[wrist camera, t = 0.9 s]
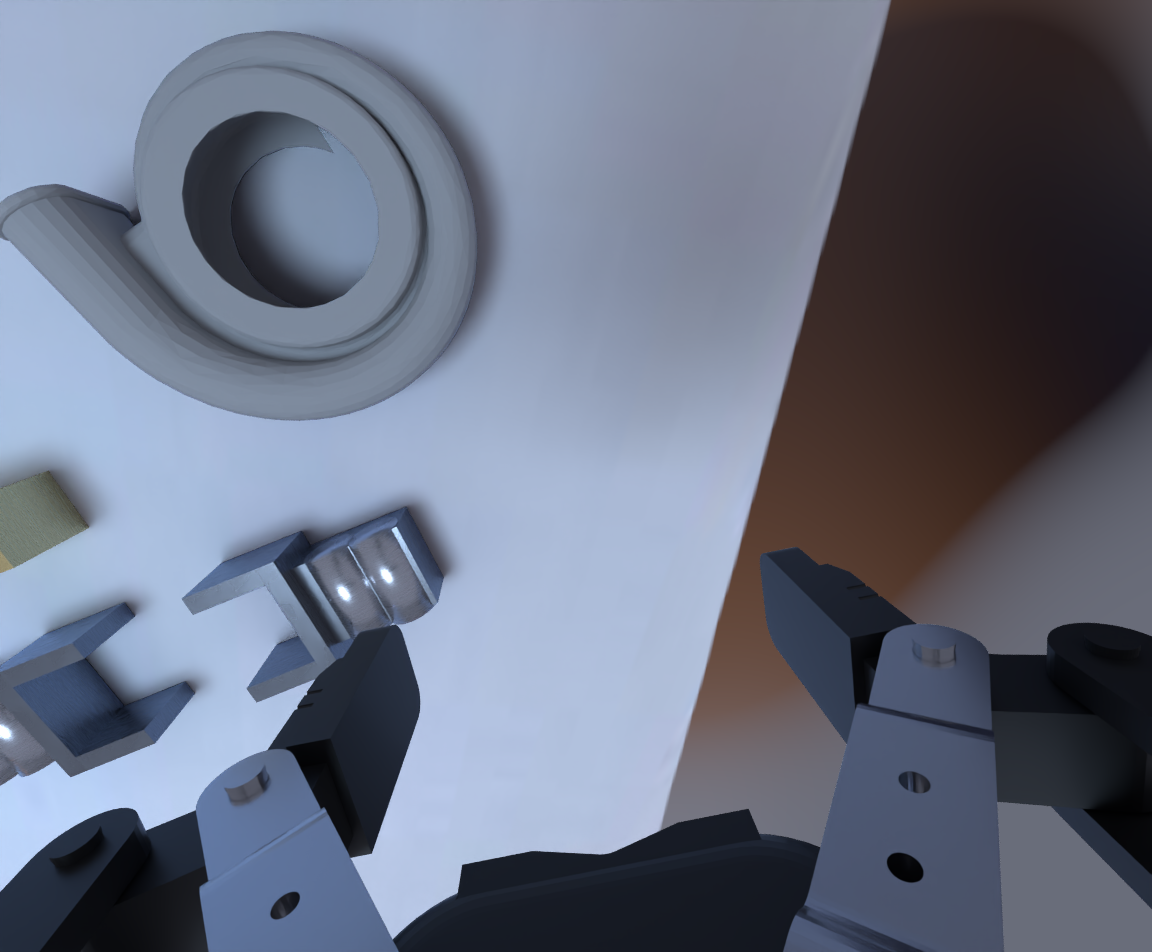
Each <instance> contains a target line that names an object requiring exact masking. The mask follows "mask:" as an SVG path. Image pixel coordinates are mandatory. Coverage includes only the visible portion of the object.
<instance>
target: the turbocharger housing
mask: <svg viewBox="0 0 1152 952" xmlns="http://www.w3.org/2000/svg"><path fill="white" fill-rule="evenodd" d="M316 125H317V126H319V127H320V128H322V129H324V130H326V131H327V132H329V133H331V134H332V135H333V136H334V137H335V138H336V139H337V140H338V141H339V142H340V143H341V144H342V145H343V146H344V147H345V148H346V149H347V150H348V151H350V152H351V153H352V154H353V156H354V157H355V159H356V160H357V162H358V163H359V165H360V167H361V168H362V170H363V171H364V173H365V175H366V176H367V178H368V180H369V181H370V184H371V188H372V191H373V194H374V198H375V201H376V204H377V208H378V236H379V239H378V243H377V246H376V250H375V253H374V257H373V260H372V262H371V264H370V266H369V267H368V269H367V271H366V273H365V275H364V277H363V278H362V279H361V280H359V281H358V282H357V283H356V284H355V285H354V286H353V287H352V288H351V289H350V290H349V291H348V292H347V293H346V294H345V295H343V296H341V297H339V298H337V299H335V300H333V301H331V302H328V303H326V304H323V305H320V306H315V307H308V308H301V307H298V306H294V305H291V304H288V303H286V302H285V301H283V300H281V299H280V298H278V297H277V296H275V295H273V294H272V293H270V292H269V291H267V290H266V289H265V288H264V287H263V286H262V285H261V284H260V283H259V282H258V281H257V280H256V279H255V278H254V277H253V276H252V275H251V273H250V272H249V270H248V269H247V267H246V266H245V264H244V263H243V261H242V260H241V258H240V255H239V252H238V250H237V247H236V244H235V241H234V238H233V235H232V225H231V205H232V201H233V197H234V193H235V190H236V188H237V186H238V184H239V182H240V180H241V178H242V177H243V175H244V173H245V172H246V171H247V170H248V169H250V168H251V167H252V166H253V165H254V164H255V163H256V162H257V161H258V160H259V159H260V158H261V157H263V156H266V155H268V154H271V153H273V152H276V151H278V150H281V149H283V148H290V147H313V148H318V149H322V150H326V151H329V152H332V153H333V151H332V149H331V148H330V146H329V145H328V143H327V141H326V140H325V138H324V137H323V135H322V133H321V132H320V130H319V129H318V127H317V126H316ZM133 171H134V185H135V194H136V199H137V204H138V209H139V212H140V216H141V222H139V223H138V224H136V225H135V226H134V225H133V224H132V223H131V222H130V214H129V211H128V210H127V209H126V208H124V207H123V206H122V205H120V204H117V203H114V202H111V201H108V200H106V199H103V198H100V197H97V196H94V195H91V194H88V193H85V192H82V191H80V190H77V189H74V188H71V187H68V186H65V185H59V184H51V185H40V186H34V187H30V188H27V189H25V190H22V191H20V192H17V193H15V194H13V195H11V196H8V197H7V198H5V199H4V200H3V201H2V202H1V203H0V238H2V239H4V240H8V241H10V242H11V243H12V244H13V245H14V246H15V247H16V248H17V249H18V250H19V251H20V252H21V253H22V254H23V255H24V256H25V258H26V259H27V260H28V261H29V262H30V263H31V264H32V265H33V266H34V267H35V268H36V269H37V270H38V271H39V272H40V273H41V274H42V275H43V276H44V277H45V278H46V279H47V280H48V281H49V282H50V283H51V284H52V285H53V286H54V287H55V289H56V290H57V291H58V292H59V293H60V294H61V295H62V296H63V297H64V298H65V299H66V300H67V301H68V302H69V303H70V304H71V305H72V306H73V307H74V308H75V309H76V310H77V311H78V312H79V313H80V314H81V315H82V316H83V317H84V318H85V319H86V321H87V322H88V323H89V324H90V325H91V326H92V327H93V328H94V329H95V330H96V331H97V332H98V333H99V334H100V335H101V336H102V337H103V338H104V339H105V340H106V341H107V342H108V343H109V344H110V345H111V346H112V347H113V348H115V349H116V350H117V351H118V352H119V353H120V354H122V355H123V356H124V357H125V358H127V359H128V360H129V361H131V362H132V363H133V364H134V365H136V366H137V367H138V368H140V369H141V370H142V371H144V372H145V373H147V374H149V375H150V376H152V377H153V378H155V379H156V380H158V381H160V382H162V383H163V384H165V385H167V386H169V387H171V388H173V389H175V390H177V391H178V392H180V393H182V394H184V395H186V396H189V397H191V398H194V399H196V400H199V401H201V402H203V403H206V404H208V405H211V406H213V407H217V408H220V409H224V410H227V411H231V412H234V413H238V414H243V415H247V416H253V417H259V418H265V419H275V420H298V421H300V420H317V419H324V418H332V417H337V416H341V415H346V414H350V413H353V412H356V411H359V410H363V409H365V408H368V407H370V406H373V405H375V404H378V403H380V402H382V401H384V400H386V399H388V398H390V397H391V396H393V395H395V394H396V393H398V392H400V391H401V390H403V389H404V388H406V387H407V386H408V385H410V384H411V383H412V382H414V381H415V380H416V379H417V378H418V377H420V376H421V375H422V374H423V373H424V372H425V371H426V370H427V369H428V368H429V367H430V366H432V365H433V363H434V362H435V361H436V360H437V359H438V358H439V357H440V355H441V354H442V353H443V352H444V350H445V349H446V348H447V346H448V345H449V344H450V342H451V340H452V339H453V337H454V336H455V334H456V332H457V330H458V328H459V327H460V325H461V323H462V321H463V318H464V316H465V313H466V311H467V308H468V305H469V302H470V299H471V295H472V291H473V286H474V281H475V273H476V263H477V230H476V223H475V216H474V209H473V202H472V198H471V195H470V192H469V189H468V185H467V182H466V179H465V175H464V173H463V170H462V168H461V166H460V163H459V161H458V158H457V156H456V154H455V153H454V151H453V149H452V147H451V145H450V143H449V141H448V139H447V138H446V136H445V135H444V133H443V131H442V130H441V128H440V127H439V125H438V124H437V123H436V121H435V120H434V118H433V117H432V116H431V114H430V113H429V112H428V111H427V109H426V108H425V107H424V106H423V105H422V104H421V103H420V101H419V100H418V99H417V98H416V97H415V96H414V95H413V94H412V93H411V92H410V91H409V90H408V89H407V88H406V87H405V86H404V85H403V84H401V83H400V82H399V81H398V80H396V79H395V78H394V77H393V76H392V75H390V74H389V73H388V72H386V71H385V70H384V69H382V68H381V67H379V66H378V65H376V64H375V63H373V62H372V61H370V60H369V59H367V58H365V57H363V56H361V55H360V54H358V53H356V52H354V51H352V50H350V49H348V48H346V47H343V46H341V45H339V44H337V43H334V42H331V41H328V40H324V39H321V38H318V37H315V36H310V35H305V34H300V33H294V32H282V31H266V32H255V33H245V34H239V35H235V36H231V37H227V38H224V39H221V40H219V41H217V42H214V43H212V44H210V45H207V46H205V47H203V48H202V49H200V50H198V51H196V52H194V53H193V54H191V55H190V56H189V57H188V58H186V59H185V60H184V61H183V62H182V63H180V64H179V65H178V66H177V67H176V68H174V69H173V70H172V71H171V72H170V73H169V74H168V75H167V76H166V77H165V79H164V80H163V81H162V83H161V84H160V86H159V87H158V89H157V90H156V92H155V93H154V95H153V96H152V97H151V99H150V100H149V102H148V105H147V107H146V109H145V111H144V114H143V117H142V120H141V124H140V128H139V131H138V135H137V138H136V142H135V154H134V167H133Z"/></svg>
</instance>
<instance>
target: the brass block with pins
mask: <svg viewBox="0 0 1152 952" xmlns="http://www.w3.org/2000/svg"><path fill="white" fill-rule="evenodd" d="M88 528H89V527H88V525H87V524H86V523H85V521H84V520H83V519H82V517H81V516H80V514H79V513H78V512H77V510H76V509H75V507H74V506H73V505H72V503H71V502H70V501H69V499H68V498H67V496H66V495H65V494H64V492H63V491H62V489H61V488H60V487H59V485H58V484H57V482H56V481H55V480H54V478H53V477H52V476H51V474H50V473H49V471H46V472H44V473H41V474H38V475H35V476H33V477H30V478H27V479H24V480H22V481H19V482H16V483H13V484H11V485H8V486H5V487H2V488H0V573H2V572H4V571H7V570H10V569H12V568H15V567H16V566H18V565H20V564H22V563H24V562H26V561H28V560H30V559H31V558H33V557H35V556H37V555H39V554H41V553H43V552H45V551H46V550H48V549H50V548H52V547H54V546H56V545H58V544H60V543H61V542H63V541H65V540H67V539H69V538H71V537H73V536H74V535H76V534H78V533H80V532H82V531H84V530H86V529H88Z"/></svg>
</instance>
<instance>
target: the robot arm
mask: <svg viewBox="0 0 1152 952" xmlns="http://www.w3.org/2000/svg"><path fill="white" fill-rule="evenodd" d="M760 569H761V578H762V587H763V596H764V605H765V613H766V621H767V626H768V629H769V633H770V636H771V638H772V641H773V643H774V645H775V646H776V648H777V650H778V651H779V652H780V654H781V655H782V656H783V658H784V659H785V660H786V662H787V663H788V664H789V666H790V667H791V669H792V670H793V671H794V673H795V674H796V675H797V677H798V678H799V680H800V681H801V682H802V684H803V685H804V686H805V688H806V689H807V690H808V692H809V693H810V695H811V696H812V697H813V699H814V700H815V701H816V703H817V704H818V705H819V707H820V708H821V710H822V711H823V712H824V714H825V715H826V716H827V718H828V719H829V720H830V722H831V723H832V724H833V726H834V727H835V729H836V730H837V731H838V733H839V734H840V735H841V737H842V738H843V740H844V741H845V742H846V744H847V745H846V749H845V753H844V757H843V761H842V765H841V769H840V772H839V776H838V780H837V785H836V788H835V792H834V796H833V800H832V804H831V808H830V811H829V815H828V820H827V823H826V827H825V831H824V835H823V839H822V843H821V847H818V846H815V845H812V844H810V843H807V842H803V841H800V840H796V839H792V838H789V837H783V836H776V835H770V834H759V832H758V830H757V828H756V825H755V823H754V821H753V819H752V816H751V814H750V811H749V809H745V810H740V811H735V812H730V813H725V814H720V815H714V816H709V817H704V818H699V819H694V820H689V821H684V822H679V823H676V824H674V825H672V826H670V827H667V828H665V829H663V830H661V831H659V832H657V833H654V834H652V835H650V836H648V837H646V838H643V839H641V840H639V841H637V842H635V843H633V844H630V845H628V846H626V847H624V848H622V849H619V850H617V851H615V852H612V853H609V854H601V855H599V854H579V853H560V852H541V851H531V852H525V853H520V854H515V855H510V856H505V857H500V858H495V859H490V860H485V861H480V862H474V863H469V864H464V865H462V870H461V876H460V883H459V889H458V893H457V894H455V895H453V896H451V897H449V898H447V899H445V900H443V901H442V902H440V903H438V904H437V905H435V906H433V907H432V908H430V909H429V910H427V911H426V912H425V913H423V914H422V915H420V916H419V917H418V918H416V919H415V920H414V921H413V922H411V923H410V924H409V925H408V926H407V927H406V928H404V929H403V930H402V931H401V932H400V933H399V934H398V935H397V936H396V937H395V938H394V939H393V940H392V938H391V936H390V934H389V932H388V930H387V928H386V926H385V924H384V922H383V920H382V918H381V916H380V914H379V912H378V910H377V908H376V907H375V905H374V903H373V901H372V899H371V897H370V895H369V893H368V891H367V889H366V887H365V885H364V883H363V881H362V879H361V877H360V875H359V873H358V872H357V870H356V868H355V866H354V864H353V862H352V860H351V858H352V857H357V856H362V855H367V854H372V851H373V848H374V846H375V843H376V840H377V837H378V834H379V831H380V828H381V825H382V822H383V819H384V816H385V814H386V811H387V808H388V805H389V802H390V799H391V796H392V793H393V790H394V787H395V784H396V781H397V779H398V776H399V773H400V770H401V767H402V764H403V761H404V758H405V755H406V752H407V749H408V746H409V744H410V741H411V738H412V735H413V732H414V729H415V726H416V723H417V720H418V717H419V713H420V693H419V688H418V684H417V681H416V677H415V674H414V671H413V667H412V664H411V661H410V657H409V654H408V651H407V647H406V644H405V641H404V637H403V634H402V632H401V630H400V628H399V627H398V626H397V625H391V626H386V627H381V628H375V629H370V630H365V631H361V632H360V633H359V634H358V635H357V637H356V638H355V640H354V641H353V643H352V645H351V646H350V648H349V649H348V651H347V652H346V654H345V655H344V657H343V658H339V659H337V660H336V661H335V662H334V663H332V664H331V665H330V666H329V667H328V668H326V669H325V670H324V671H323V672H322V673H320V674H319V675H318V677H317V678H316V680H315V681H314V683H313V684H312V685H311V687H310V688H309V690H308V691H307V695H305V696H304V697H303V699H302V700H301V702H300V703H299V705H298V706H297V707H298V709H297V710H294V712H293V713H292V715H291V716H290V718H289V719H288V721H287V722H286V724H285V725H284V727H283V728H282V729H281V731H280V732H279V734H278V735H277V737H276V738H275V740H274V741H273V743H272V744H271V746H270V747H269V749H268V750H267V751H263V752H260V753H257V754H254V755H252V756H250V757H247V758H245V759H243V760H241V761H239V762H238V763H236V764H234V765H233V766H231V767H230V768H228V769H227V770H225V771H224V772H223V773H221V774H220V775H219V776H218V777H217V778H215V779H214V780H213V781H212V782H211V783H210V784H209V785H208V786H207V788H206V789H205V790H204V791H203V793H202V794H201V796H200V798H199V799H198V801H197V805H196V810H195V811H193V812H190V813H188V814H186V815H183V816H181V817H178V818H176V819H173V820H171V821H169V822H166V823H164V824H161V825H159V826H156V827H154V828H151V829H149V830H147V831H146V830H145V828H144V826H143V824H142V822H141V820H140V818H139V816H138V814H137V812H136V811H135V810H133V809H130V808H119V809H113V810H110V811H106V812H104V813H101V814H98V815H96V816H93V817H91V818H89V819H87V820H85V821H83V822H81V823H79V824H77V825H76V826H74V827H72V828H71V829H69V830H67V831H66V832H64V833H63V834H61V835H60V836H58V837H57V838H55V839H54V840H53V841H52V842H50V843H49V844H48V845H46V846H45V847H44V848H43V849H42V850H40V851H39V852H38V853H37V854H36V855H35V856H34V857H33V858H32V859H31V860H30V861H29V862H28V863H27V864H26V865H25V866H24V867H23V868H22V869H21V871H20V872H19V873H18V874H17V875H16V876H15V877H14V878H13V879H12V880H11V881H10V882H9V883H8V884H7V885H6V886H5V888H4V889H3V890H2V891H1V892H0V952H1004V936H1003V916H1002V894H1001V871H1000V850H999V828H998V807H997V802H1009V803H1020V804H1033V805H1044V806H1052V808H1053V809H1054V810H1055V811H1056V812H1057V813H1058V814H1059V815H1060V816H1061V817H1062V818H1063V819H1064V820H1065V821H1066V822H1067V823H1068V824H1069V825H1070V826H1071V827H1072V828H1073V829H1074V830H1075V831H1076V832H1077V833H1078V834H1079V835H1080V836H1081V838H1082V839H1084V841H1086V843H1087V844H1088V845H1089V846H1090V847H1091V848H1092V849H1093V850H1094V851H1095V852H1096V853H1097V854H1098V855H1099V856H1100V857H1101V858H1102V859H1103V860H1104V861H1105V862H1106V863H1107V864H1108V865H1109V866H1110V867H1111V868H1112V869H1113V870H1114V871H1115V872H1116V873H1117V874H1118V875H1119V876H1120V877H1121V878H1122V879H1123V880H1124V881H1125V882H1126V883H1127V884H1128V885H1129V886H1130V887H1131V888H1132V889H1133V890H1134V891H1135V892H1136V893H1137V894H1138V895H1139V896H1140V897H1141V899H1143V901H1144V902H1146V903H1147V905H1148V906H1149V907H1150V908H1151V909H1152V636H1149V635H1147V634H1144V633H1141V632H1138V631H1135V630H1131V629H1128V628H1123V627H1119V626H1113V625H1107V624H1099V623H1074V624H1067V625H1062V626H1060V627H1057V628H1055V629H1053V630H1052V631H1051V632H1050V633H1049V635H1048V638H1047V655H998V654H988V651H987V649H986V647H985V646H984V645H983V644H982V643H981V642H980V641H978V640H977V639H976V638H974V637H972V636H970V635H969V634H966V633H964V632H962V631H959V630H956V629H953V628H949V627H945V626H939V625H931V624H916V623H915V622H913V621H912V620H911V619H909V618H908V617H907V616H906V615H904V614H903V613H902V612H900V611H899V610H898V609H897V608H895V607H894V606H893V605H892V604H890V603H889V602H888V601H886V600H885V599H884V598H883V597H881V596H880V597H879V596H878V594H877V593H876V592H875V591H874V590H872V589H871V588H870V587H868V586H867V587H866V586H865V583H863V582H862V581H861V580H860V579H858V578H857V577H856V576H854V575H853V574H852V573H850V572H848V571H846V570H843V569H840V568H838V567H835V566H832V565H829V564H824V565H818V564H817V563H816V562H815V561H813V560H812V559H811V558H810V557H809V556H808V555H806V554H805V553H804V552H803V551H802V550H800V549H799V548H798V547H793V548H788V549H783V550H778V551H773V552H768V553H763V554H762V555H761V557H760Z"/></svg>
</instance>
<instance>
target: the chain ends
mask: <svg viewBox="0 0 1152 952" xmlns="http://www.w3.org/2000/svg"><path fill="white" fill-rule="evenodd" d="M443 579H444V577H443V575H442V573H441V571H440V570H439V568H438V566H437V564H436V562H435V560H434V558H433V556H432V554H431V552H430V551H429V549H428V547H427V545H426V543H425V541H424V539H423V537H422V535H421V534H420V532H419V530H418V528H417V526H416V524H415V522H414V520H413V518H412V516H411V515H410V513H409V511H408V509H407V507H405V508H402V509H400V510H397V511H395V512H392V513H390V514H387V515H385V516H382V517H380V518H377V519H375V520H372V521H370V522H367V523H365V524H363V525H360V526H358V527H355V528H353V529H350V530H348V531H345V532H343V533H340V534H338V535H335V536H333V537H330V538H328V539H325V540H323V541H320V542H318V543H315V544H313V545H310V544H309V542H308V541H307V539H306V537H305V536H304V534H303V532H302V531H300V532H298V533H295V534H293V535H290V536H288V537H285V538H283V539H280V540H278V541H275V542H273V543H270V544H268V545H265V546H263V547H260V548H258V549H255V550H253V551H250V552H248V553H245V554H243V555H240V556H238V557H236V558H233V559H231V560H228V561H226V562H223V563H221V564H220V565H219V566H217V567H216V568H215V569H214V570H213V571H212V572H211V573H210V574H209V575H208V576H206V577H205V578H204V579H203V580H202V581H201V582H200V583H199V584H198V585H196V586H195V587H194V588H193V589H192V590H191V591H190V592H189V593H188V594H187V595H185V596H184V597H183V598H182V600H183V602H184V603H185V604H186V606H187V607H188V609H189V610H190V611H191V613H192V614H193V615H194V614H196V613H199V612H201V611H204V610H206V609H209V608H211V607H214V606H216V605H219V604H221V603H224V602H226V601H229V600H231V599H233V598H236V597H238V596H241V595H243V594H246V593H248V592H251V591H253V590H256V589H258V588H261V587H263V586H266V587H267V589H268V590H269V592H270V593H271V595H272V596H273V598H274V599H275V601H276V602H277V604H278V605H279V607H280V608H281V610H282V611H283V613H284V614H285V616H286V618H287V619H288V621H289V622H290V624H291V625H292V627H293V628H294V630H295V631H296V633H297V634H298V636H297V637H295V638H292V639H290V640H287V641H285V642H282V643H280V644H277V645H276V646H275V648H274V649H273V651H272V652H271V654H270V655H269V656H268V658H267V659H266V661H265V662H264V664H263V665H262V667H261V668H260V670H259V671H258V673H257V674H256V676H255V677H254V679H253V680H252V681H251V683H250V684H249V686H248V687H247V690H248V691H249V693H250V694H251V695H252V697H253V698H254V700H255V701H256V702H259V701H262V700H264V699H267V698H269V697H272V696H274V695H277V694H279V693H281V692H284V691H286V690H289V689H291V688H294V687H296V686H299V685H301V684H304V683H306V682H309V681H311V680H314V679H316V678H317V677H318V675H319V674H320V673H322V672H323V671H324V670H325V669H326V668H328V667H329V666H330V665H331V664H332V663H334V662H335V661H336V660H337V659H339V658H343V657H344V655H345V654H346V652H347V651H348V649H349V648H350V646H351V645H352V643H353V641H354V640H355V638H356V637H357V635H358V634H359V633H360V632H361V631H365V630H370V629H375V628H381V627H386V626H390V625H391V624H392V623H394V624H406V623H409V622H412V621H414V620H416V619H418V618H420V617H421V616H423V615H424V614H426V613H427V612H428V611H430V610H431V609H432V608H433V607H434V606H435V604H437V603H438V600H439V596H440V591H441V587H442V583H443ZM133 617H135V616H134V614H133V613H132V612H131V610H130V609H129V608H128V606H127V605H126V604H125V603H121V604H119V605H116V606H114V607H112V608H109V609H107V610H104V611H102V612H99V613H97V614H94V615H92V616H89V617H87V618H84V619H82V620H79V621H77V622H74V623H72V624H69V625H67V626H64V627H62V628H59V629H57V630H54V631H52V632H50V633H47V634H45V635H43V636H41V637H40V638H39V639H37V640H36V641H34V642H33V643H32V644H30V645H29V646H27V647H26V648H25V649H23V650H22V651H20V652H19V653H18V654H16V655H15V656H13V657H12V658H11V659H9V660H8V661H6V662H5V663H4V664H2V665H1V666H0V785H2V784H4V783H5V782H7V781H9V780H10V779H12V778H13V777H15V776H16V775H17V774H19V775H20V776H21V777H25V776H28V775H31V774H33V773H35V772H37V771H39V770H41V769H43V768H44V767H46V766H48V765H49V764H51V763H52V762H54V761H56V762H57V763H58V764H59V765H60V766H61V768H62V769H63V770H64V771H65V772H66V773H67V774H68V775H69V776H70V777H72V776H75V775H77V774H80V773H82V772H85V771H87V770H90V769H92V768H95V767H97V766H100V765H102V764H105V763H107V762H110V761H112V760H115V759H117V758H120V757H122V756H125V755H127V754H130V753H132V752H135V751H137V750H140V749H142V748H145V747H147V746H150V745H152V744H155V743H156V741H157V740H158V739H159V738H160V736H161V735H162V734H163V733H164V732H165V730H166V729H167V728H168V727H169V725H170V724H171V723H172V722H173V720H174V719H175V718H176V717H177V715H178V714H179V713H180V712H181V710H182V709H183V708H184V707H185V705H186V704H187V703H188V702H189V700H190V699H191V698H192V697H193V695H194V692H193V691H192V690H191V688H190V687H189V686H188V685H187V683H186V682H183V683H180V684H178V685H175V686H173V687H171V688H168V689H166V690H163V691H161V692H158V693H156V694H153V695H151V696H148V697H146V698H143V699H141V700H138V701H136V702H133V703H131V704H128V705H126V706H124V705H123V703H122V702H121V701H120V700H119V699H118V697H117V696H116V695H115V694H114V693H113V691H112V690H111V689H110V688H109V687H108V685H107V684H106V683H105V682H104V681H103V679H102V678H101V677H100V676H99V675H98V673H97V672H96V671H95V670H94V669H93V667H92V666H91V665H90V664H89V663H88V661H87V660H86V659H85V658H86V657H87V656H88V655H89V654H90V653H92V652H93V651H94V650H95V649H96V648H98V647H99V646H100V645H101V644H102V643H104V642H105V641H106V640H107V639H108V638H110V637H111V636H112V635H113V634H114V633H116V632H117V631H118V630H119V629H120V628H122V627H123V626H124V625H125V624H126V623H127V622H129V621H130V620H131V619H132V618H133Z"/></svg>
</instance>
